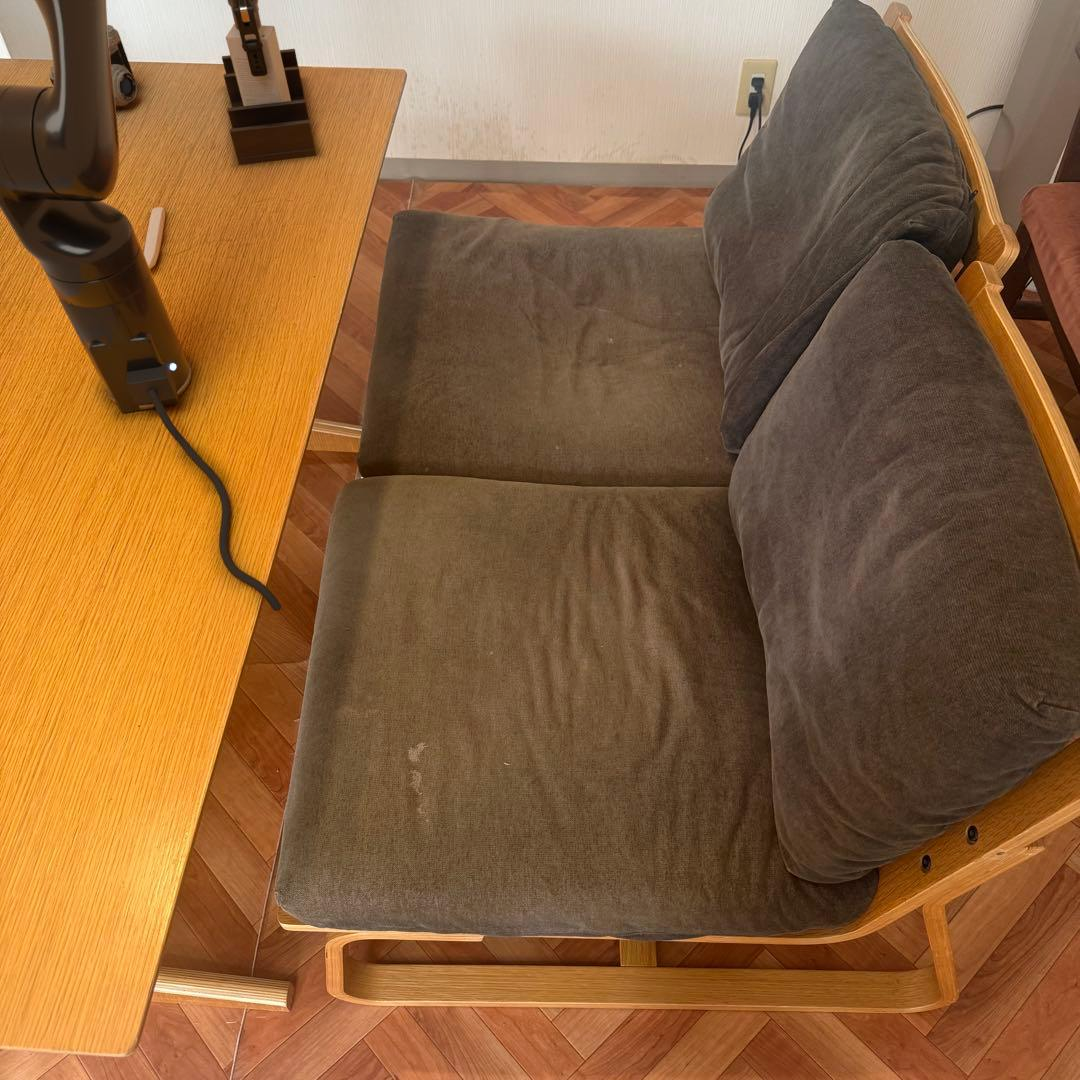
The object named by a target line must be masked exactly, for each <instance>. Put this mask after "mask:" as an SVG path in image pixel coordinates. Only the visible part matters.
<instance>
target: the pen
mask: <svg viewBox="0 0 1080 1080" xmlns="http://www.w3.org/2000/svg"><path fill="white" fill-rule="evenodd" d="M165 222H166V210H165V208H164V207H163V206H157V207H152V209H151V212H150V217H149V222H148V226H147V232H146V238H145V244H144V248H143V254H144V256H145V259H146V261H147V264H148V267H149V269H150V270H151V269H152V268H153V267H154V266H155V265H156V264H157V261H158V258H159V254H160V252H161V251H160V250H161V247H162V241H163V234H164V229H165Z"/></svg>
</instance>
